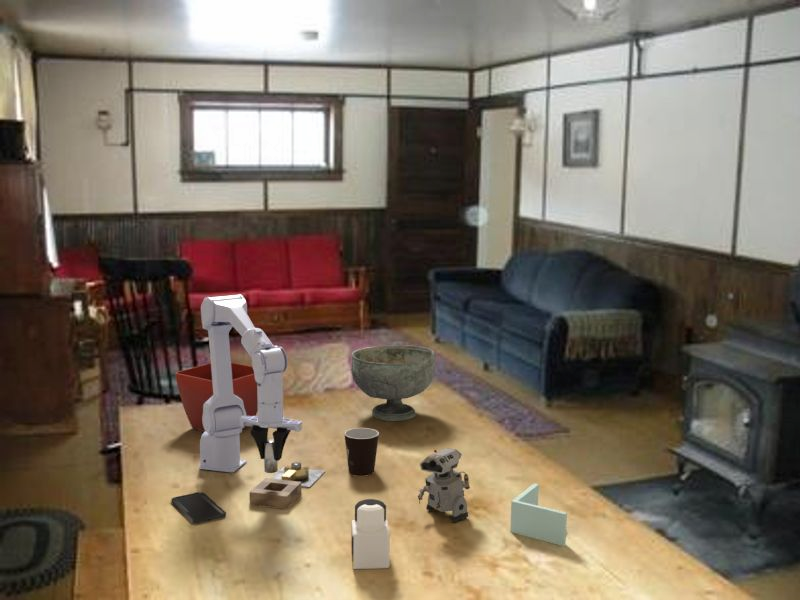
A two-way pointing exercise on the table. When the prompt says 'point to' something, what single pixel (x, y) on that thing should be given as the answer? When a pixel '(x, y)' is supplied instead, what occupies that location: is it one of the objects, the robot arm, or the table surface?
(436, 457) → the figurine
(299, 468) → the ring nut
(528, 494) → the l-shaped corner panel
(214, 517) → the phone
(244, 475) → the table surface
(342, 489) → the table surface
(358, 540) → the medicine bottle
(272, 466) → the pin
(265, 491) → the socket block
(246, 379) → the plant pot
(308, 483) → the plate
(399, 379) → the decorative bowl
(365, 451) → the coffee mug
